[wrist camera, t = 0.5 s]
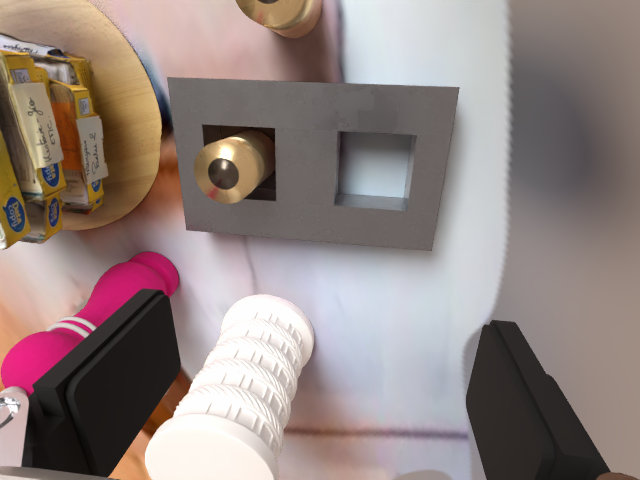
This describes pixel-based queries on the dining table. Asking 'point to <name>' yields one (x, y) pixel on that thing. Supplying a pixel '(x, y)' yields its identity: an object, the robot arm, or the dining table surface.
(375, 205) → the jig
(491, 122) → the dining table surface
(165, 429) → the decorative container
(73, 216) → the stacked packages on plate
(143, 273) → the pepper mill
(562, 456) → the robot arm
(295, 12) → the bushing
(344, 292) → the dining table surface
